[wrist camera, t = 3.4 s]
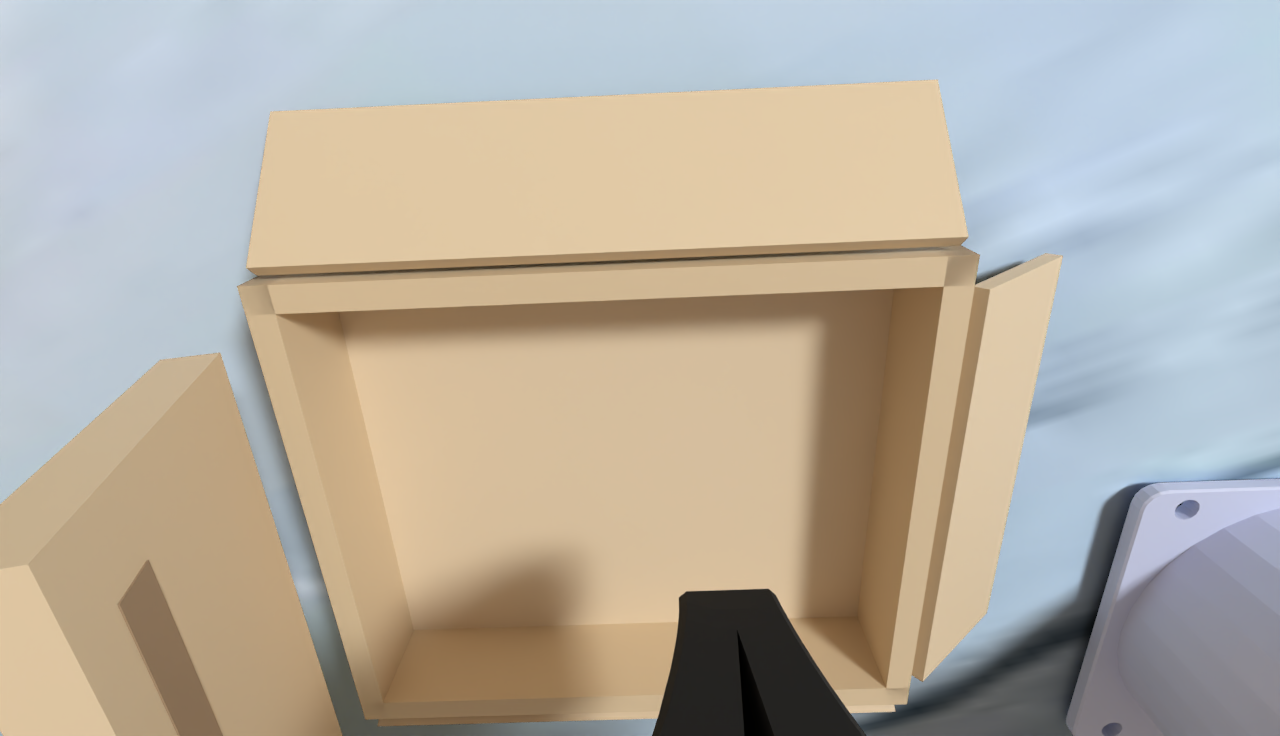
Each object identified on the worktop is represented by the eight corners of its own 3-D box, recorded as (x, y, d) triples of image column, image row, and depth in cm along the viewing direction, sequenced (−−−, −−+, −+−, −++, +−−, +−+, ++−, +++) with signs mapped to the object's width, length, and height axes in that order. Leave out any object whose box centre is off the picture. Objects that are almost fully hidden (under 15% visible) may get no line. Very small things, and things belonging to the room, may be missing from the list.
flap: (29, 565, 5) (-92, 585, 5) (293, 1076, 9) (224, 1099, 9) (221, 352, 10) (158, 360, 10) (347, 746, 13) (302, 757, 13)
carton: (1082, 72, 12) (1190, 69, 9) (957, 689, 18) (1005, 780, 15) (274, 111, 12) (186, 117, 10) (420, 705, 18) (387, 796, 16)
